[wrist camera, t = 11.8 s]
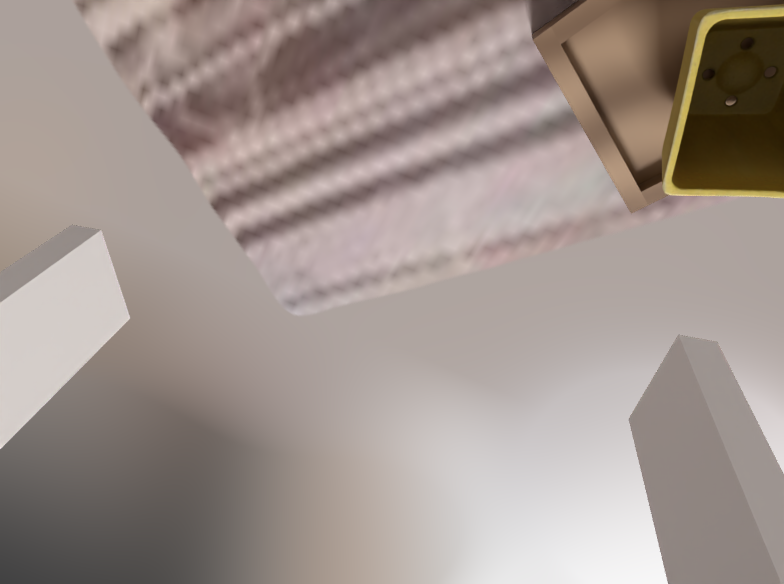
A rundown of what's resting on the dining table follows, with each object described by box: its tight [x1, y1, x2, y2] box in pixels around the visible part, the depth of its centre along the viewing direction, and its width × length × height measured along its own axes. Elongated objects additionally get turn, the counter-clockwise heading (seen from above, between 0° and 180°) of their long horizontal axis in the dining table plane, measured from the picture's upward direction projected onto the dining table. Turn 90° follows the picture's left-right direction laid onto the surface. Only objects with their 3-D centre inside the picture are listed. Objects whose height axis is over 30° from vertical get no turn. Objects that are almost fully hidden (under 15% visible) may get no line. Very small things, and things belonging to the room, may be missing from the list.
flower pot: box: [662, 4, 784, 198], centre depth 26 cm, size 9×9×9 cm
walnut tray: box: [532, 0, 784, 213], centre depth 30 cm, size 14×14×2 cm
